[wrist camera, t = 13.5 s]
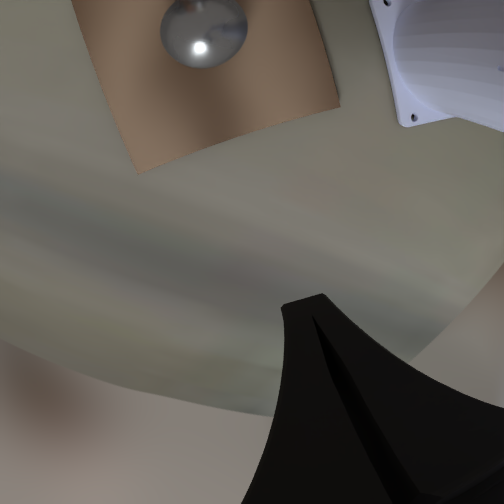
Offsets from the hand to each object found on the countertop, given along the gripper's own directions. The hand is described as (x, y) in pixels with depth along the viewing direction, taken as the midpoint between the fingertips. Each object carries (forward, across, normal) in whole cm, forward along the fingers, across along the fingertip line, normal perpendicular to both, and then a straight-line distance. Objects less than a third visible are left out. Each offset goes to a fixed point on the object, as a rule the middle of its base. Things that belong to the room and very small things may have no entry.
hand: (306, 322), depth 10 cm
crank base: (+9, +1, -10) cm, 14 cm away
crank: (+8, 0, -12) cm, 15 cm away
